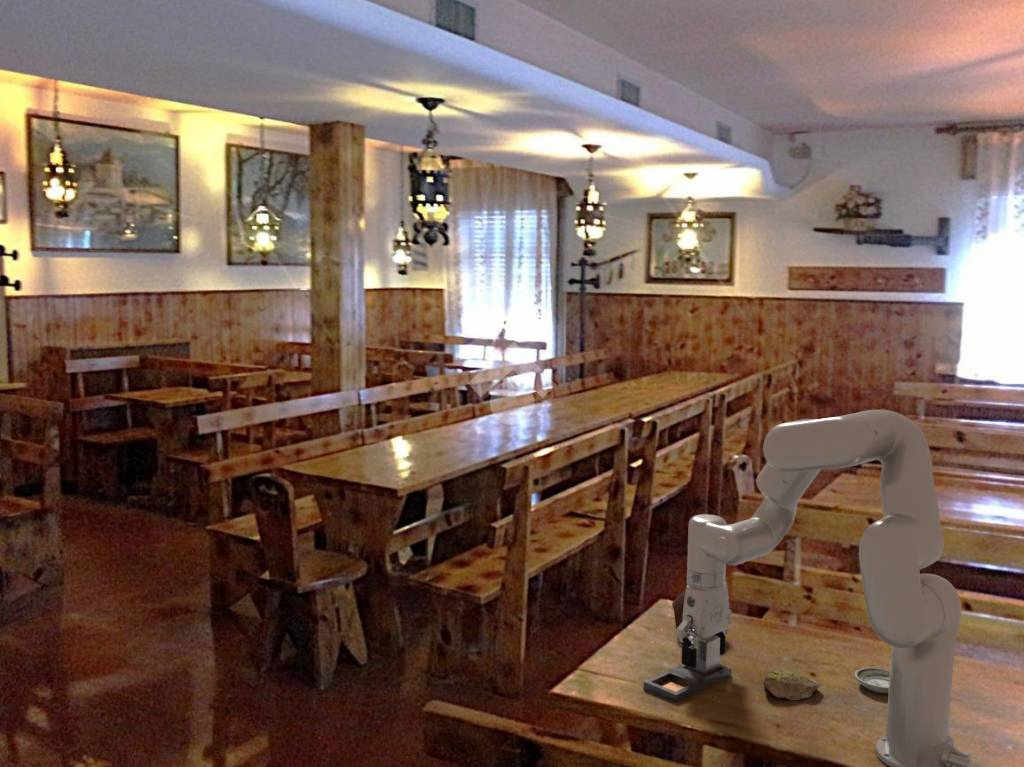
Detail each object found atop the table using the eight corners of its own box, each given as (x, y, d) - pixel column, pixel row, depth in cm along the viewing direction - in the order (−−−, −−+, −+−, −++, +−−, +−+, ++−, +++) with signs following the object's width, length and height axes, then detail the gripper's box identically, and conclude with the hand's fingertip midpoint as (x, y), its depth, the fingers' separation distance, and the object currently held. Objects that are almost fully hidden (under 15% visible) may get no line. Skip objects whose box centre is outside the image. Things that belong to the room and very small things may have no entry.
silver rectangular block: (718, 675, 194) (720, 637, 193) (705, 681, 191) (706, 643, 190) (700, 668, 197) (701, 631, 196) (687, 674, 194) (688, 636, 193)
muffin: (711, 648, 208) (712, 603, 207) (663, 637, 214) (664, 594, 212) (729, 630, 218) (730, 588, 217) (683, 621, 224) (684, 579, 222)
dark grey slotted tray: (731, 675, 194) (731, 668, 194) (676, 702, 182) (676, 695, 181) (698, 663, 200) (698, 656, 199) (643, 688, 187) (643, 681, 187)
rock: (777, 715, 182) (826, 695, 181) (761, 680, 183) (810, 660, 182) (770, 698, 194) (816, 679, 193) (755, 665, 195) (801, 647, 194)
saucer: (917, 693, 187) (918, 681, 186) (881, 703, 182) (882, 691, 182) (878, 674, 195) (878, 663, 195) (843, 683, 191) (843, 672, 190)
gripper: (695, 591, 183) (692, 677, 185) (746, 572, 195) (743, 653, 197) (664, 582, 188) (661, 665, 190) (715, 564, 200) (713, 642, 202)
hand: (703, 659), depth 194 cm, fingers open, 9 cm apart
